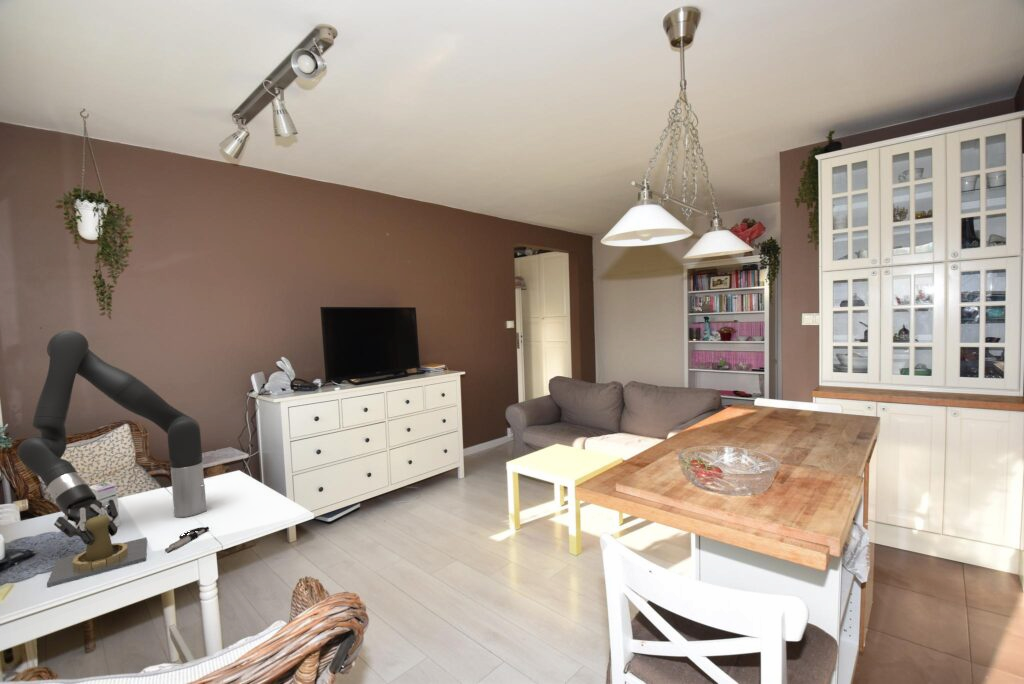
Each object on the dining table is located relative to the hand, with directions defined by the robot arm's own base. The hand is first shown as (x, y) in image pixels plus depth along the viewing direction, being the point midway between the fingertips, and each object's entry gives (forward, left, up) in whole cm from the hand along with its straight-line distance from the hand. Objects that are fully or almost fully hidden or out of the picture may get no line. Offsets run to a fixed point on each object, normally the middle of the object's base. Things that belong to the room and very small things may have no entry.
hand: (103, 538), depth 133 cm
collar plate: (+1, -1, -7) cm, 7 cm away
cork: (+1, -1, -5) cm, 6 cm away
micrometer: (-18, -2, -8) cm, 19 cm away
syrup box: (+2, -30, -7) cm, 31 cm away
